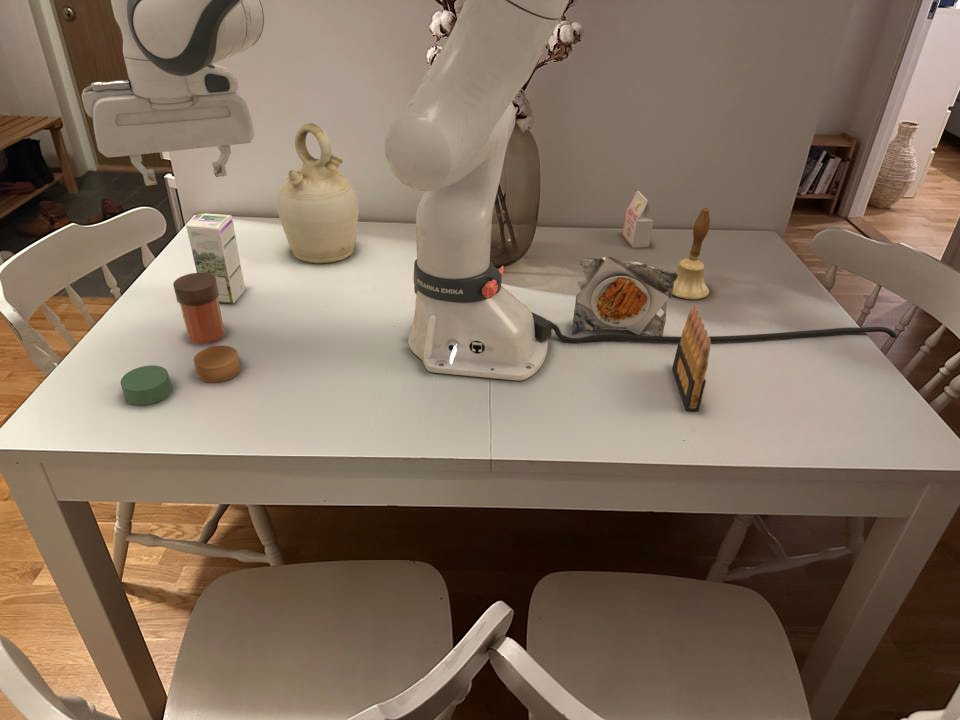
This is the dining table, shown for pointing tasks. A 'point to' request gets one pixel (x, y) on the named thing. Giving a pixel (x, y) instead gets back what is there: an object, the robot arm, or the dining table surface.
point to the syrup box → (217, 253)
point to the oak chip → (217, 364)
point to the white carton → (638, 222)
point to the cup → (203, 322)
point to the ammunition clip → (692, 361)
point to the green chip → (146, 385)
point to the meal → (622, 296)
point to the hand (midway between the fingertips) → (186, 179)
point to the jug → (318, 204)
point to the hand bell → (693, 264)
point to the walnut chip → (196, 289)
